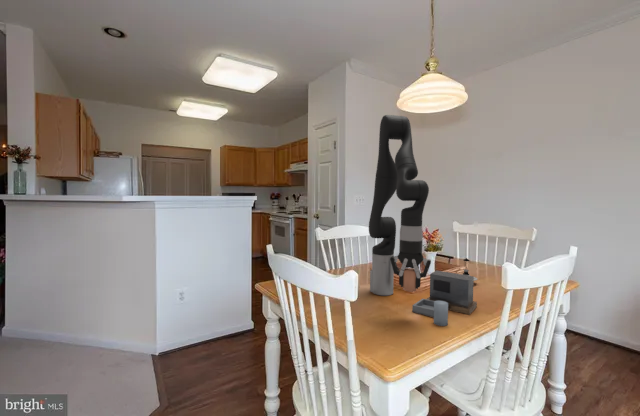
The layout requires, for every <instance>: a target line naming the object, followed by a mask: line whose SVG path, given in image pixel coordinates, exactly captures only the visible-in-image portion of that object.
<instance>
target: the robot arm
mask: <svg viewBox="0 0 640 416" xmlns="http://www.w3.org/2000/svg"><path fill="white" fill-rule="evenodd" d="M378 135H379V139H378V156H377V164H376V171H375V172H376V173H375V180H374V192H373V201H372V206H371V211H370V216H369V220H368V234H369V236H370V237H371V238H372V239H382V241H380V242H379V243H378V244H376V245H375V244H374V246H373V247H372V249H371V253H372V254H371V255H372V256H371V257H372V258H371V259H372V260H371V269H370V272H369V292H371V293H372V294H374V295H377V296H391V295H393V294H394V274H395V275H398V284H399V286H400V287H401V288H403V273H404V270H405V268H413V269H414V270H415V273H416V276H417V277H416V290H418V289H419V288H421V280H422V279H421V278H426V277H427V274H428V271H429V269H430V266H431V263H432V259H430V258H429V259H427V258H425V257H424V256H423V239H424V236H423V234H424V233H423V213H424V209H425V205H426V202H427V200H428V198H429V197H428V196H429V193H430V190H429V189H430V188H429V185H428V183H427V182H426V181H425V180H421V179H417V180H415V179H416V178H417V176H418V174H419V169H418V167H417V163H416V160H415V155H414V150H413V149H414V148H413V137H412V135H413V134H412V127H411V123H410V119H409V117H407V116H404V115H394V114H385V115H383V116H382V118H381V120H380V124H379V134H378ZM390 140H398V141H399V140H400V141H401V144H400V147H399V149H398V150H397V152H396V154H395V157H394V159H393V156H392V154H391V150H390ZM394 194H396V196H397V198H398V199H399V200H400V201H403V202H411V201H412V202H414V203H413V205H412V206H410V207H404V208H402V209H401V211H400V228H399V252H398V254H397V255H395V253H394V252H395V248H396V238H397V237H396V236H397V223H396V220H395V218H393V217H391V216H382V215H383V211H384V209H385V207H386V205H387V203H388V202H390V200H391V198H392V197H393V196H394ZM398 261H399V262H400V263H401V268H400V270H399V268H398V264H397V262H398ZM422 262H423V266H424V269H423V272H421V269H420V264H421V263H422Z"/></svg>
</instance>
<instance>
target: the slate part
mask: <svg viewBox="0 0 640 416" xmlns="http://www.w3.org/2000/svg"><path fill="white" fill-rule="evenodd" d="M448 319H449V310H448V303H447V302H445V301H439V300H438V301H434V317H433V324H434V325H436V326H440V327H447V326H448V324H449V322H448V321H449V320H448Z"/></svg>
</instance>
